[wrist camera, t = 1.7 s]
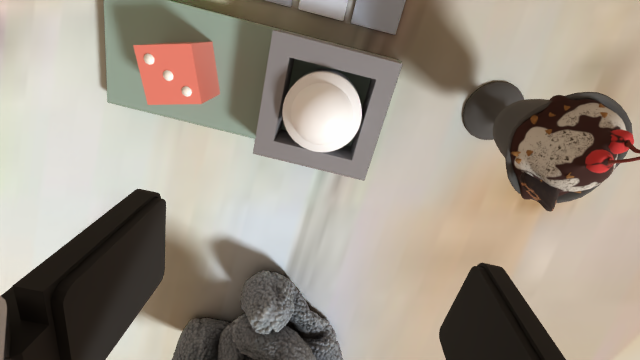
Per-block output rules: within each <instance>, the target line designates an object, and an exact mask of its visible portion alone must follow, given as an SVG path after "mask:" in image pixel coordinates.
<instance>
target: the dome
mask: <svg viewBox="0 0 640 360" xmlns="http://www.w3.org/2000/svg"><path fill="white" fill-rule="evenodd" d="M282 114H283V121H284V125H285V127H286V130H287V132H288V133H289V135H290V136H291V138H292V139H293V140H294V141H295V142H296V143H298V144H299V145H300V146H302V147H304V148H306V149H308V150H311V151H315V152H330V151H334V150H337V149H339V148H342V147H343V146H345V145H346V144H347V143H349V142H350V141H351V140H352V139H353V137H354V136H355V135H356V133H357V131H358V129H359V127H360V123H361V118H362V108H361V103H360V99H359V95H358V92H357V90H356V88H355V86H354V85H353V83H352V82H351V81H350V80H349V79H348V78H347V77H346V76H345V75H343V74H342V73H340V72H338V71H335V70H331V69H317V70H313V71H310V72H308V73H306V74H304V75H303V76H302V77H300V78H299V79H298V80H297V82H296V83H295V84H294V85H293V86H292V87H291V89H290V90H289V91H288V93H287V95H286V97H285V100H284V103H283V110H282Z"/></svg>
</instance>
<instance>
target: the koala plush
mask: <svg viewBox="0 0 640 360" xmlns="http://www.w3.org/2000/svg"><path fill="white" fill-rule="evenodd" d="M241 296H242V297H241V303H242V306H241V308H242V309H244V311H245V314H243V315H242V316H238V318H237V319H235V320H233V322H232V323H229V322H227V321H226V322H224V321H223V320H222V321H220V320H217V319H216V320H215V319H210V318H203V319H198V318H195V319H193V320H190V321H189V322H188V324H187V325H186V327H185V329H183V331H182V333H181V335H180V338H179V340H178V343H177V346H176V350H175V352H174V356H173V359H172V360H343V358H342V354H341V350H340V347H339V343H338V341H336V334H335V331H334V330H333V328H332V326H331V325H329V322H328V320H326V319H323V318H321V317H320V316H318V314H317V313H315V312H313V311H311V310H310V309H309V306H308V304H307V303H306V301H305V300H304V298H303V297H302V294H301V293H300V291H298V290H297V288H296V286H295V285H294V284H293V282H291V280H290V279H288V278H286V277H285V276H283V275H281V274H279V273H277V272H270V271H262V272H258V273H257V274H255V275H253V276H252V277H251V278H250V279H249V280H247V281H246V282H245V285H244V286H243V290H242V294H241Z"/></svg>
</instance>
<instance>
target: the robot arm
mask: <svg viewBox="0 0 640 360" xmlns="http://www.w3.org/2000/svg"><path fill="white" fill-rule="evenodd" d="M165 223H166V202H165V200H164V199H161V196H160V194H159V193H156V192H151V191H147V190H142V189H137V190H135V191H134V192H132V193H131V194H130V195H128V196H127V197H126V198H125V199H123V200H122V201H121V202H119V203H118V204H117V205H116V206H114V207H113V208H112V209H111V210H109V211H108V212H107V213H105V214H104V215H103V216H102V217H100V218H99V219H98V220H96V221H95V222H94V223H93V224H91V225H90V226H89V227H87V228H86V229H85V230H84V231H82V232H81V233H80V234H78V235H77V236H76V237H75V238H73V239H72V240H71V241H69V242H68V243H67V244H66V245H64V246H63V247H62V248H60V249H59V250H58V251H57V252H55V253H54V254H53V255H51V256H50V257H49V258H48V259H46V260H45V261H44V262H43V263H41V264H40V265H39V266H37V267H36V268H35V269H34V270H32V271H31V272H30V273H28V274H27V275H26V276H25V277H23V278H22V279H21V280H19V281H18V282H17V283H16V284H14V285H13V287H12V288H10V289H9V290H8V291H6V292H5V293H4V294H3V295H1V296H0V360H105V359H106V358H107V357H108V355H109V354H110V352H111V351H112V350H113V348H114V347H115V345H116V344H117V343H118V341H119V340H120V338H121V337H122V336H123V334H124V333H125V331H126V330H127V329H128V327H129V326H130V324H131V323H132V322H133V320H134V319H135V317H136V316H137V315H138V313H139V312H140V310H141V309H142V308H143V306H144V305H145V303H146V302H147V301H148V299H149V298H150V296H151V295H152V294H153V292H154V291H155V289H156V288H157V287H158V285H159V284H160V282H161V280H162V278H163V275H164V270H165ZM439 338H440V342H441V345H442V348H443V352H444V355H445V358H446V360H566V359H565V358H564V356H563V355H562V353H561V352H560V350H559V349H558V347H557V346H556V345H555V343H554V342H553V340H552V339H551V337H550V336H549V334H548V333H547V331H546V330H545V328H544V327H543V326H542V324H541V323H540V321H539V320H538V318H537V317H536V315H535V314H534V312H533V311H532V310H531V308H530V307H529V305H528V304H527V302H526V301H525V299H524V298H523V296H522V295H521V293H520V292H519V291H518V289H517V288H516V286H515V285H514V283H513V282H512V280H511V279H510V277H509V276H508V274H507V273H506V272H505V270H504V269H503V268H502V267H499V266H495V265H490V264H486V263H480V264H479V265H477V266H474V267H472V268H471V270H470V272H469V274H468V276H467V278H466V280H465V281H464V283H463V285H462V287H461V289H460V291H459V293H458V295H457V297H456V299H455V301H454V303H453V305H452V306H451V308H450V310H449V312H448V314H447V316H446V318H445V320H444V322H443V324H442V326H441V328H440V332H439Z"/></svg>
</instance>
